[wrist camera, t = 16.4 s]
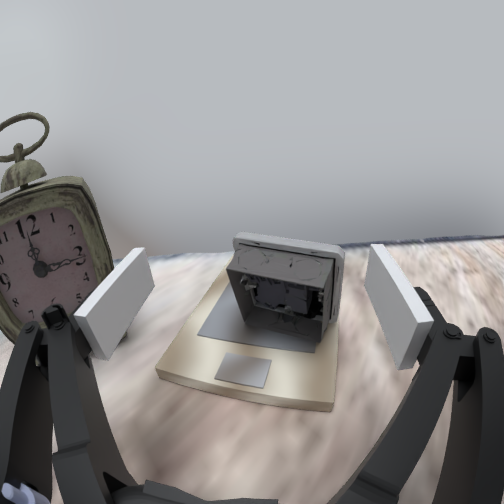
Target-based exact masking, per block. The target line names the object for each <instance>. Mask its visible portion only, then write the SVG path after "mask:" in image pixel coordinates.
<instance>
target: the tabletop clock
mask: <svg viewBox="0 0 504 504" xmlns="http://www.w3.org/2000/svg"><path fill="white" fill-rule="evenodd" d="M26 119H36V120H39V121H41V122H42V123H43V124H44V126H45V133H44V135H43V136H42V138H41V139H40V140H39V141H38V142H36V143H35V144H33V145H32V146H31V147H29V148H26V149H24V150H23V145H22V144H21V143H18V144H16V145H15V146H14V148H13V149H14V154H11V155H8V156H0V162H11V161H15V164H14V165H12V166H11V167H9V168H8V169H7V170H6V172H5V174H4V176H3V179H2V183H1V193H3V192H6V191H8V190H11V189H13V188H16V187H19V186H20V190H18V191H16V192H14V193H12V194H10V195H8V196H6V197H4V198H3V199H1V200H0V330H1V331H2V332H3V334H4V335H5V336H6V337H7V338H8V339H9V340H10V341H11V342H12V343H13V344H14V345H15V343H16V341H17V338H18V336H19V333H20V331H21V329H22V327H23V326H24V325H25V324H26V323H28V322H31V321H37V322H38V323H39V325H40V327H41V328H47V326H46V324H45V323H44V321H43V319H42V317H41V314H42V312H43V311H44V309H46V308H47V307H48V306H50V305H52V304H56V303H58V304H62V305H63V307H64V309H65V312H66V314H67V316H68V317H69V316H70V314H71V313H72V312H73V311H74V310H75V309H76V307H77V306H78V305H79V304H81V302H82V300H83V299H85V297H86V296H87V295H88V294H89V293H90V292H91V291H92V290H94V289H95V288H97V287H98V286H99V285H100V284H101V283H102V282H103V281H104V279H105V278H106V277H107V276H108V275H109V274H110V273H111V272H112V271H113V270H114V265H113V260H112V256H111V251H110V248H109V245H108V242H107V239H106V236H105V233H104V230H103V227H102V224H101V220H100V217H99V214H98V210H97V207H96V203H95V201H94V198H93V196H92V193H91V191H90V189H89V187H88V185H87V184H86V182H85V181H84V179H83V178H80V177H75V176H63V177H58V178H53V179H49V180H45V181H42V182H38V183H34V184H31V185H28V183H29V182H31V181H34V180H36V179H39V178H41V177H44V176H46V175H47V174H46V172H45V170H44V168H43V167H42V165H41V164H40V163H39V162H37V161H35V160H32V159H29V160H25V159H24V157H25V156H27V155H29V154H31V153H32V152H33V151H35V150H36V149H37V148H39V147H40V146H41V145H42V144H43V142H44V141H45V139H46V138H47V136H48V133H49V123H48V121H47V120H46V118H45V117H44V116H42V115H40V114H38V113H33V112H28V113H22V114H19V115H16V116H14V117H11V118H9V119H8V120H6V121H5V122H3V123H1V124H0V131H2V130H3V129H4V128H6V127H7V126H9V125H11V124H13V123H16V122H18V121H21V120H26ZM126 333H127V332H125V333H124V335H123V337H122V338H121V339H123V338H124V337H125V336H126ZM35 362H36V365H37V366H38V361H37V360H35Z"/></svg>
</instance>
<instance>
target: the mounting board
mask: <svg viewBox="0 0 504 504" xmlns="http://www.w3.org/2000/svg"><path fill="white" fill-rule="evenodd" d="M233 256H234V254H233ZM233 256H232V257H231V258H230V260H229V261H228V263H227V264H226V265H225V267H224V268H223V270H222V271H221V273H220V274H219V275H218V277H217V278H216V280H215V281H214V282H213V284H212V285H211V287H210V288H209V290H208V291H207V292H206V294H205V295H204V297H203V298H202V300H201V301H200V302H199V304H198V305H197V307H196V308H195V310H194V311H193V313H192V314H191V315H190V317H189V318H188V320H187V321H186V323H185V324H184V326H183V327H182V328H181V330H180V331H179V333H178V334H177V336H176V337H175V339H174V340H173V341H172V343H171V344H170V346H169V347H168V349H167V350H166V352H165V353H164V355H163V356H162V358H161V359H160V360H159V362H158V363H157V365H156V366H155V369H156V372H157V374H158V376H159V378H161V379H165V380H168V381H171V382H174V383H177V384H181V385H184V386H187V387H191V388H195V389H198V390H202V391H206V392H210V393H214V394H218V395H222V396H227V397H231V398H236V399H240V400H245V401H251V402H256V403H262V404H267V405H274V406H280V407H287V408H295V409H303V410H313V411H324V412H331V409H332V406H333V404H334V396H335V384H336V369H337V351H338V321H339V315H338V320H337V322H335V323H333V324H332V323H328V326H327V330H326V331H325V332H324V335H323V338H322V341H321V343H318V342H314V341H310V340H306V339H302V338H297V337H293V336H289V335H285V334H282V333H278V332H274V331H270V330H266V329H263V328H259V327H255V326H252V325H248V324H245V323H246V321H247V320H246V321H245V323H244V321H243V318H242V315H241V312H240V309H239V306H238V304H237V301H236V298H235V295H234V292H233V289H232V286H231V283H230V280H229V277H228V274H227V271H226V268H227V266H228V265H229V263H230V262H231V260H232V259H233ZM242 278H243V277H242ZM241 282H242V280H241ZM259 308H261V307H259ZM277 312H278V311H277ZM278 314H279V312H278ZM279 316H280V314H279ZM279 316H278V319H279ZM248 317H249V316H248ZM292 318H293V316H290V315H287V314H284V317H283V321H284V322H290V321H291V320H292ZM247 319H248V318H247ZM278 319H277V321H278ZM299 319H300V318H299ZM277 321H276V322H277ZM297 321H298V319H297V320H296V322H295V324H296V323H297ZM321 323H322V321H321ZM295 324H294V327H295ZM266 326H268V325H266ZM316 328H317V327H316ZM296 332H297V331H296ZM298 333H299V332H298ZM307 335H308V334H307Z"/></svg>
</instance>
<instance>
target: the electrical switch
mask: <svg viewBox="0 0 504 504" xmlns="http://www.w3.org/2000/svg"><path fill="white" fill-rule="evenodd" d="M233 247H234V250H235V253H234V256H233V259H232V260H231V262H230V263H229V265H228V266H227V268H226V271H227V274H228V277H229V280H230V283H231V286H232V289H233V292H234V295H235V298H236V301H237V304H238V306H239V309H240V312H241V315H242V318H243V321H244V323H245V321H246V320H247V321H246V323H245V324H248V325H252V326H255V327H259V328H263V329H266V330H270V331H274V332H278V333H282V334H285V335H289V336H293V337H297V338H302V339H306V340H310V341H314V342H318V343H321V341H322V338H323V335H324V332H325V331H326V330H327V326H328V323H332V324H333V323H335V322H337V320H338V315H339V308H340V299H341V291H342V281H343V271H344V259H345V252H344V251H343V250H342V249H341V247H340V246H336V245H330V244H323V243H316V242H309V241H303V240H296V239H289V238H283V237H275V236H269V235H262V234H254V233H247V232H240V233H238V234H237V235H236V236H235V237H234V238H233ZM242 277H243V278H242ZM241 280H242V282H241ZM259 307H261V308H259ZM277 311H278V312H279V314H280V316H279V314H278V312H277ZM284 314H287V315H290V316H293V318H292V320H291V321H290V322H284V321H283V317H284ZM248 316H249V317H248ZM278 316H279V319H278ZM247 318H248V319H247ZM299 318H300V319H299ZM277 319H278V321H277ZM297 319H298V321H297V323H296V324H295V322H296V320H297ZM276 321H277V322H276ZM321 321H322V323H321ZM294 324H295V327H294ZM266 325H268V326H266ZM316 327H317V328H316ZM296 331H297V332H296ZM298 332H299V333H298ZM307 334H308V335H307Z"/></svg>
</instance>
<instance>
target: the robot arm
mask: <svg viewBox="0 0 504 504" xmlns="http://www.w3.org/2000/svg"><path fill="white" fill-rule="evenodd" d="M364 286H365V289H366V291H367V293H368V296H369V298H370V300H371V303H372V305H373V307H374V310H375V312H376V315H377V317H378V319H379V322H380V324H381V327H382V330H383V332H384V335H385V337H386V340H387V343H388V345H389V348H390V351H391V353H392V356H393V359H394V362H395V365H396V367H397V370H403V369H409V368H413V366H414V364H415V362H416V360H418V362H419V365H420V366H419V368H418V370H417V372H416V374H415V376H414V377H413V379H412V382H411V384H410V386H409V388H408V390H407V392H406V394H405V396H404V398H403V400H402V402H401V403H400V405H399V407H398V409H397V410H396V412H395V414H394V416H393V417H392V419H391V421H390V422H389V424H388V425H387V427H386V429H385V430H384V432H383V433H382V435H381V436H380V438H379V439H378V441H377V442H376V444H375V445H374V447H373V448H372V450H371V451H370V452H369V454H368V455H367V457H366V458H365V459H364V461H363V462H362V463H361V465H360V466H359V467H358V469H357V470H356V471H355V472H354V474H353V475H352V476H351V477H350V479H349V480H348V481H347V482H346V483H345V485H344V486H343V487H342V488H341V489H340V490H339V492H338V493H337V494H336V495H335V496H334V497H333V498H332V499H331V500H330V501H329V502H328V503H327V504H397V503H398V500H399V493H400V491H401V489H402V488H403V486H404V484H405V483H406V481H407V480H408V478H409V476H410V475H411V473H412V471H413V469H414V468H415V466H416V464H417V462H418V460H419V459H420V457H421V455H422V453H423V451H424V449H425V447H426V445H427V443H428V441H429V439H430V437H431V434H432V432H433V430H434V428H435V426H436V423H437V421H438V419H439V416H440V414H441V411H442V409H443V406H444V403H445V401H446V398H447V395H448V392H449V389H450V387H451V383H452V380H454V388H453V402H452V413H451V421H450V429H449V436H448V442H447V447H446V452H445V457H444V462H443V466H442V471H441V475H440V479H439V482H438V486H437V489H436V493H435V496H434V499H433V502H432V504H501V501H502V496H503V491H504V355H503V349H502V344H501V339H500V337H499V335H498V334H497V332H496V331H494V330H493V329H490V328H487V327H483V328H481V329H480V330H479V331H478V333H477V335H476V336H470V335H464V334H463V332H462V330H461V329H460V328H459V327H457V326H456V325H454V324H450V323H447V322H446V321H445V319H444V318H443V316H442V314H441V313H440V311H439V310H438V308H437V307H436V306H435V304H434V302H433V301H432V300H431V298H430V296H429V295H428V293H427V292H426V291H424V290H423V289H422V288H420V287H413V286H412V285H411V283H410V282H409V280H408V279H407V277H406V276H405V274H404V273H403V271H402V270H401V269H400V267H399V266H398V264H397V263H396V262H395V260H394V259H393V257H392V256H391V255H390V253H389V252H388V250H387V249H386V248H385V246H384V245H383V244H371V246H370V253H369V260H368V266H367V272H366V278H365V284H364ZM154 287H155V285H154V281H153V278H152V274H151V270H150V266H149V262H148V258H147V255H146V250H145V248H134V249H133V250H132V251H131V252H130V253H129V254H128V255H127V256H126V257H125V258H124V259H123V260H122V261H121V262H120V263H119V264H118V265H117V267H116V268H115V269H114V270H113V271H112V272H111V273H110V274H109V275H108V276H107V277H106V278H105V279H104V281H103V282H102V283H101V284H100V285H99V286H98V287H97V288H95V289H94V290H92V291H91V292H90V293H89V294H88V295H87V296H86V297H85V299H83V300H82V302H81V304H79V305H78V306H77V307H76V309H75V310H74V311H73V312H72V313H71V314H70V316H69V317H68V316H67V314H66V312H65V309H64V307H63V305H62V304H58V303H56V304H52V305H50V306H48V307H47V308H46V309H44V311H43V312H42V314H41V317H42V319H43V321H44V323H45V324H46V326H47V328H41V327H40V325H39V323H38V322H37V321H31V322H28V323H26V324H25V325H24V326H23V327H22V329H21V331H20V333H19V336H18V338H17V341H16V343H15V346H14V348H13V351H12V354H11V357H10V360H9V362H8V365H7V369H6V372H5V375H4V378H3V381H2V385H1V389H0V504H51V499H52V463H53V467H54V471H55V475H56V479H57V483H58V486H59V490H60V493H61V496H62V499H63V502H64V504H278V499H251V498H239V499H230V500H218V501H206V500H203V499H200V498H198V497H195V496H193V495H191V494H188V493H186V492H184V491H182V490H180V489H178V488H175V487H172V486H168V485H164V484H160V483H156V482H153V481H149V480H146V481H145V484H144V485H138V484H137V483H136V481H135V480H134V479H133V477H132V476H131V475H130V474H129V472H128V471H127V469H126V467H125V465H124V462H123V460H122V458H121V455H120V453H119V450H118V448H117V445H116V443H115V440H114V437H113V435H112V432H111V429H110V426H109V423H108V420H107V417H106V414H105V411H104V407H103V404H102V401H101V397H100V393H99V390H98V386H97V382H96V378H95V374H94V370H93V365H92V361H91V358H90V356H89V355H88V354H89V353H90V351H91V350H92V351H93V353H94V355H95V356H96V358H99V359H103V360H107V361H108V360H109V358H110V357H111V355H112V353H113V352H114V350H115V348H116V347H117V345H118V343H119V342H120V340H121V338H122V337H123V335H124V333H125V332H126V330H127V329H128V327H129V325H130V324H131V322H132V321H133V319H134V317H135V316H136V314H137V313H138V311H139V310H140V308H141V306H142V305H143V303H144V302H145V300H146V299H147V297H148V296H149V294H150V293H151V291H152V290H153V288H154ZM35 360H37V361H38V366H36V362H35ZM53 423H54V430H55V435H56V441H57V446H58V452H55V453H53V454H52V434H53Z"/></svg>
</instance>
